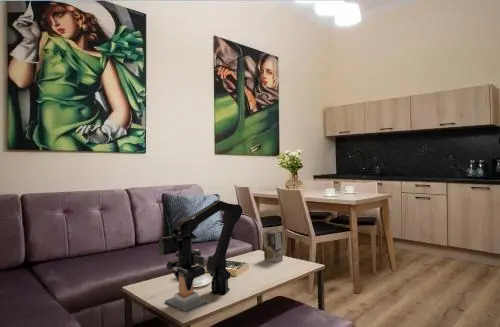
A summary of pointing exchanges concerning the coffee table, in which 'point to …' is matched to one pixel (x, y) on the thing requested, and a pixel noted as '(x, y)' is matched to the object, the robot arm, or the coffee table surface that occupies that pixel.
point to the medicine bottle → (198, 255)
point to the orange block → (184, 285)
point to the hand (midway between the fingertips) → (186, 288)
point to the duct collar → (186, 302)
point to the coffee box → (273, 246)
